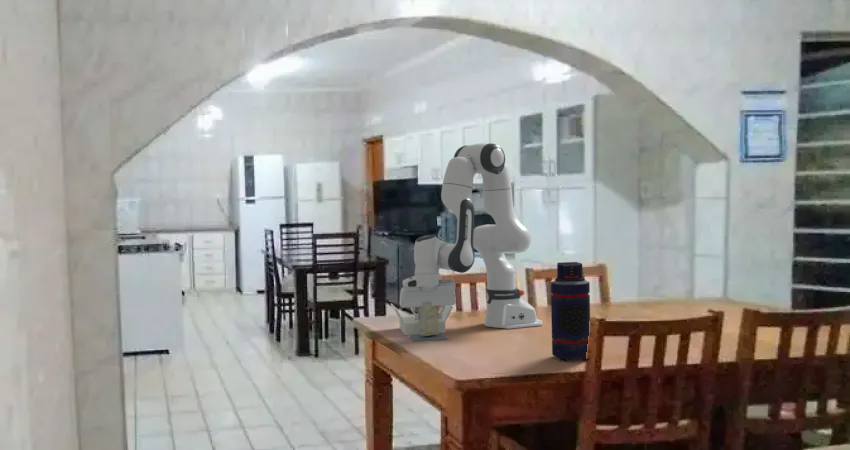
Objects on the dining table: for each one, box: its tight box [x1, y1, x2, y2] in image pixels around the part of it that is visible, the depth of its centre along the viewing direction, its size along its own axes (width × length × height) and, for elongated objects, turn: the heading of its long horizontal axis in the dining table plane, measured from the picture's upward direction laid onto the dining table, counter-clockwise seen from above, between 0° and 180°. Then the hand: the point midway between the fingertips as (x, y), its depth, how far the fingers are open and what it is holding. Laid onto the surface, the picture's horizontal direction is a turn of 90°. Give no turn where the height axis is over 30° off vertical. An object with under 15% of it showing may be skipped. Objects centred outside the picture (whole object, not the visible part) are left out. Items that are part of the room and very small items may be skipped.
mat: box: [409, 333, 448, 343], centre depth 290 cm, size 12×10×1 cm
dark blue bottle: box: [550, 261, 591, 363], centre depth 251 cm, size 14×12×30 cm
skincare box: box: [417, 302, 439, 336], centre depth 289 cm, size 6×4×12 cm
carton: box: [390, 303, 454, 336], centre depth 304 cm, size 22×15×10 cm
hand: (428, 318), depth 289 cm, fingers closed on skincare box, 7 cm apart
